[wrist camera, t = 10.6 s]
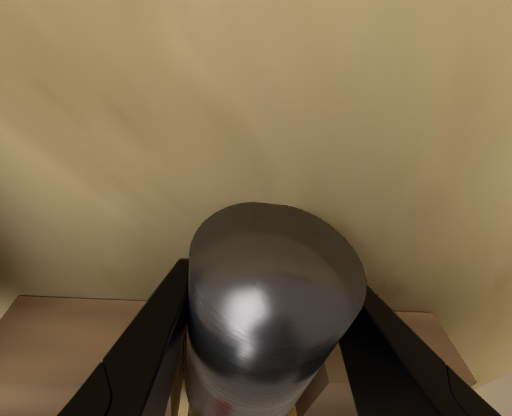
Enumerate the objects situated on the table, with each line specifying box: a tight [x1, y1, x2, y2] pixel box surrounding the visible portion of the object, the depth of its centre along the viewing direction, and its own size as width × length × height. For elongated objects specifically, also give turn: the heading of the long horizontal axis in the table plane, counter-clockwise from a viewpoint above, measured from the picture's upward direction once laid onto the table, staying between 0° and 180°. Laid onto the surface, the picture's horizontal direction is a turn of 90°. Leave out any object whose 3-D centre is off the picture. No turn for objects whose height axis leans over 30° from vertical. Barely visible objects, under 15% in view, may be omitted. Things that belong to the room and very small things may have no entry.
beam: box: [0, 296, 477, 416], centre depth 13 cm, size 8×18×3 cm, turn 80°
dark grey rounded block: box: [185, 202, 366, 416], centre depth 9 cm, size 7×4×4 cm, turn 170°
